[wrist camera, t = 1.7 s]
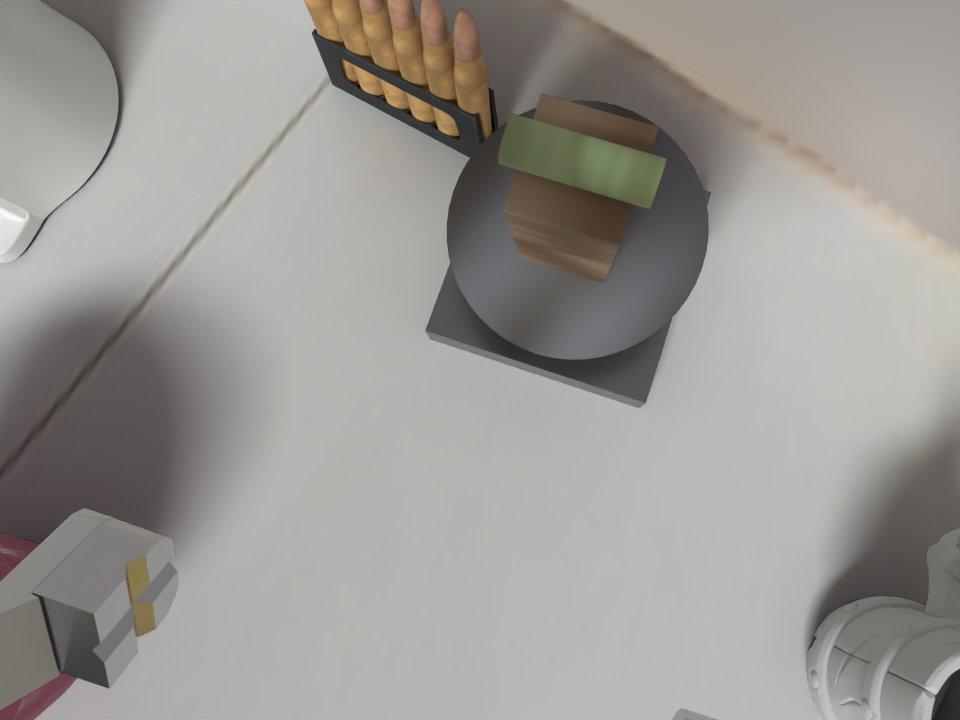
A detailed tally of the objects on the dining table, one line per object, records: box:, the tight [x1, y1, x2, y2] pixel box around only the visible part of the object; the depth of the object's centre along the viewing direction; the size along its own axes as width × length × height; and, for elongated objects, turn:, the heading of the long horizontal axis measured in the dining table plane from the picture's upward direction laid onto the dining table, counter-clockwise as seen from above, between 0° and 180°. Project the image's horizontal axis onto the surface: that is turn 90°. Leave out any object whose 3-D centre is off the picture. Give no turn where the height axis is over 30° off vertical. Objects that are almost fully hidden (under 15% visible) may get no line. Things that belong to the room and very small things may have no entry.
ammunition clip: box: [304, 0, 498, 158], centre depth 38 cm, size 11×2×12 cm, turn 59°
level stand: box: [426, 190, 711, 408], centre depth 38 cm, size 12×12×5 cm
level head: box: [447, 94, 708, 360], centre depth 29 cm, size 12×12×13 cm
